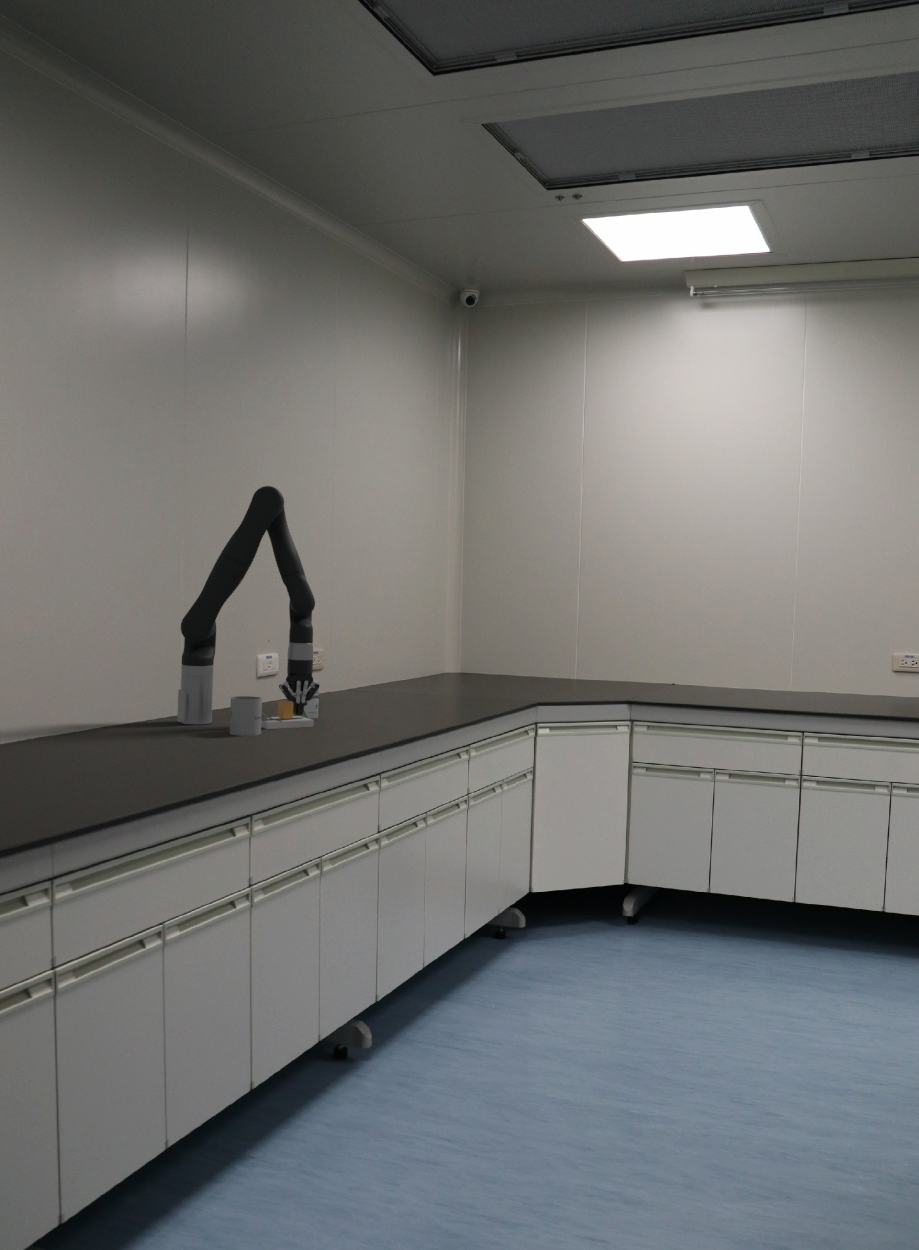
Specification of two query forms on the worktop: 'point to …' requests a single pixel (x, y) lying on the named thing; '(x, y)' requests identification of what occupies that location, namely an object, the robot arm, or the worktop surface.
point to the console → (285, 722)
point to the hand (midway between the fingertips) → (298, 715)
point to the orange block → (285, 709)
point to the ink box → (310, 705)
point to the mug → (245, 715)
